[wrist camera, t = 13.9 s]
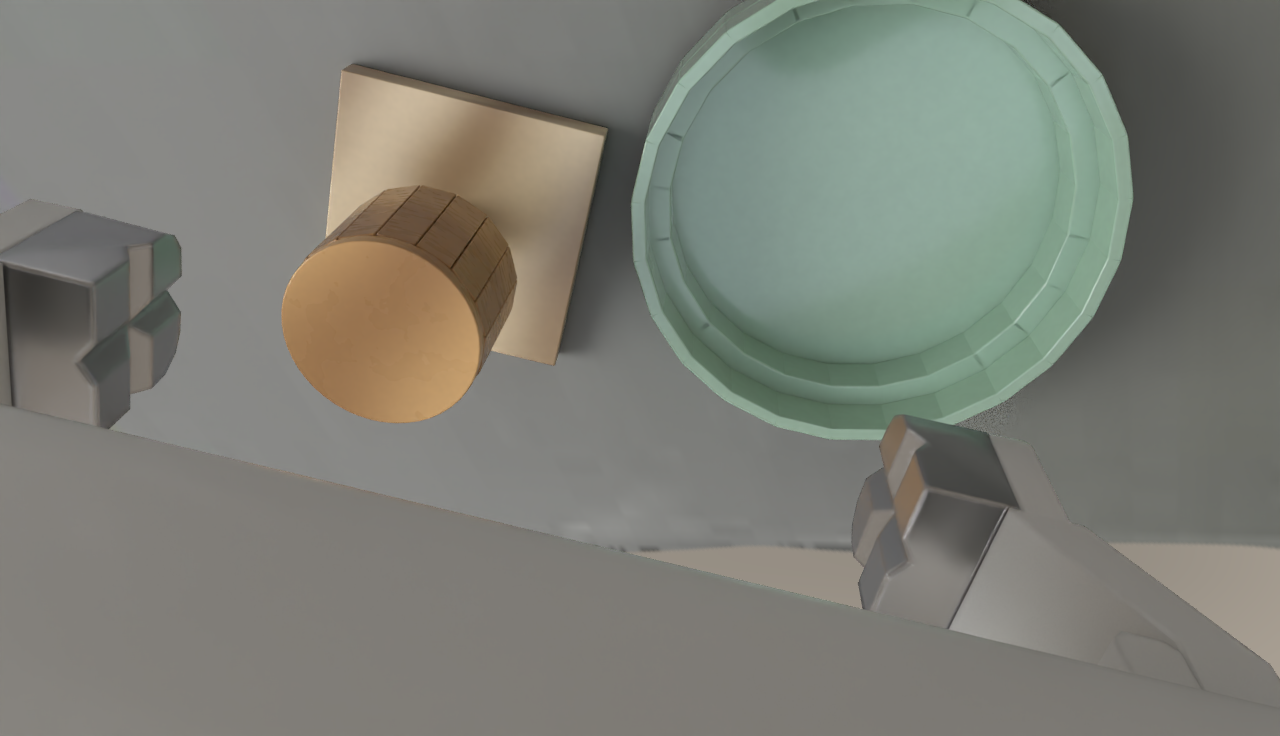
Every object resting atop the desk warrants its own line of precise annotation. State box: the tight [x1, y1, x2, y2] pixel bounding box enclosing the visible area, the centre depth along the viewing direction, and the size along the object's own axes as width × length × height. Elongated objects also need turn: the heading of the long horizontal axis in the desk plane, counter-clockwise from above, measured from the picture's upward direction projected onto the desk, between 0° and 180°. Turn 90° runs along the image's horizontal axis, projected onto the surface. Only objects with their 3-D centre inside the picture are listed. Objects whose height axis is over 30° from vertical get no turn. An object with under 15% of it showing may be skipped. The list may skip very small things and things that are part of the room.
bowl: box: [631, 0, 1134, 440], centre depth 38 cm, size 17×17×4 cm
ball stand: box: [326, 64, 608, 366], centre depth 37 cm, size 10×10×10 cm
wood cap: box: [282, 185, 517, 423], centre depth 34 cm, size 6×6×5 cm
